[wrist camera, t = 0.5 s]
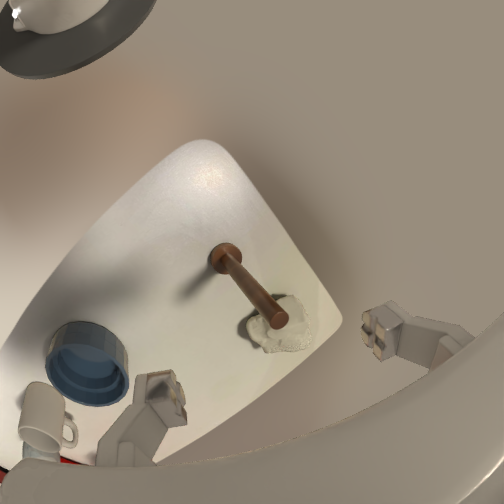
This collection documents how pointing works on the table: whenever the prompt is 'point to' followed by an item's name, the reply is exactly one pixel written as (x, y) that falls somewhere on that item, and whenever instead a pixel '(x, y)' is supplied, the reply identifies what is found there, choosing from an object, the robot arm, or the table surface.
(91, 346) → the stir bowl
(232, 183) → the table surface
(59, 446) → the mug
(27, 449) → the figurine
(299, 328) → the decorative stone
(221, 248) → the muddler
